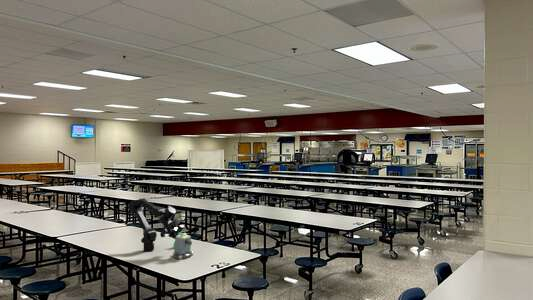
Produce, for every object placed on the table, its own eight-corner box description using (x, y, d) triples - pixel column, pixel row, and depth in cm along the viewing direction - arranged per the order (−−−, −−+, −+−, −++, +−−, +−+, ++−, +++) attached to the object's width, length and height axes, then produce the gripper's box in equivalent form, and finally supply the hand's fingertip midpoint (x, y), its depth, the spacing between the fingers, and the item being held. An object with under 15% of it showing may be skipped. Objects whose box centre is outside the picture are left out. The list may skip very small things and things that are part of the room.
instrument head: (172, 253, 243) (174, 234, 242) (183, 249, 252) (184, 231, 251) (184, 256, 238) (185, 236, 238) (195, 252, 247) (196, 233, 247)
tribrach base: (167, 257, 243) (167, 251, 243) (180, 252, 255) (180, 247, 255) (182, 260, 237) (182, 254, 237) (195, 255, 249) (195, 249, 249)
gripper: (163, 217, 242) (176, 235, 236) (182, 213, 258) (194, 230, 253) (154, 228, 245) (167, 246, 240) (174, 223, 262) (186, 240, 256)
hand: (179, 240), depth 247 cm, fingers closed, pressing on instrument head
